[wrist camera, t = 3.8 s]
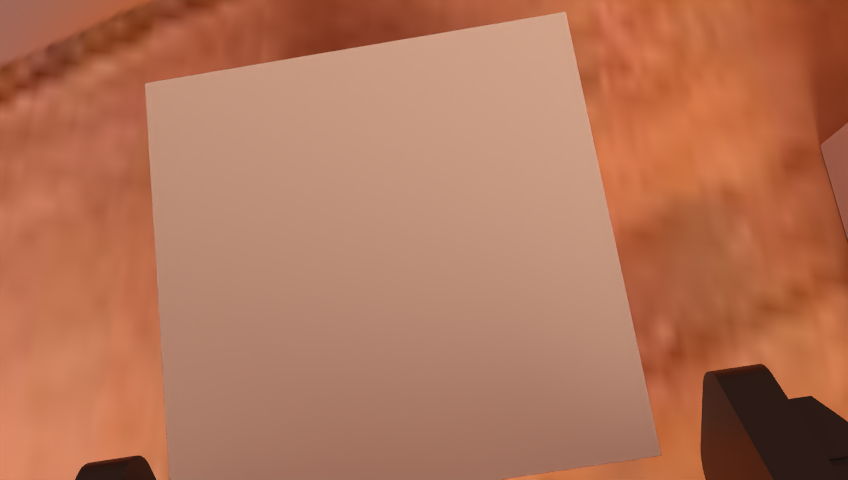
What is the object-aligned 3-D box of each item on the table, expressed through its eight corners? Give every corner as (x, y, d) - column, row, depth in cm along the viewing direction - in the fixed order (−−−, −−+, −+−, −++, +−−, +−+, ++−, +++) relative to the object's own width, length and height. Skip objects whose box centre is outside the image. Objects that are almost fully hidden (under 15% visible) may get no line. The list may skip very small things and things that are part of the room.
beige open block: (315, 481, 19) (171, 528, 10) (288, 231, 20) (145, 83, 12) (576, 442, 18) (661, 456, 10) (528, 192, 20) (565, 11, 11)
